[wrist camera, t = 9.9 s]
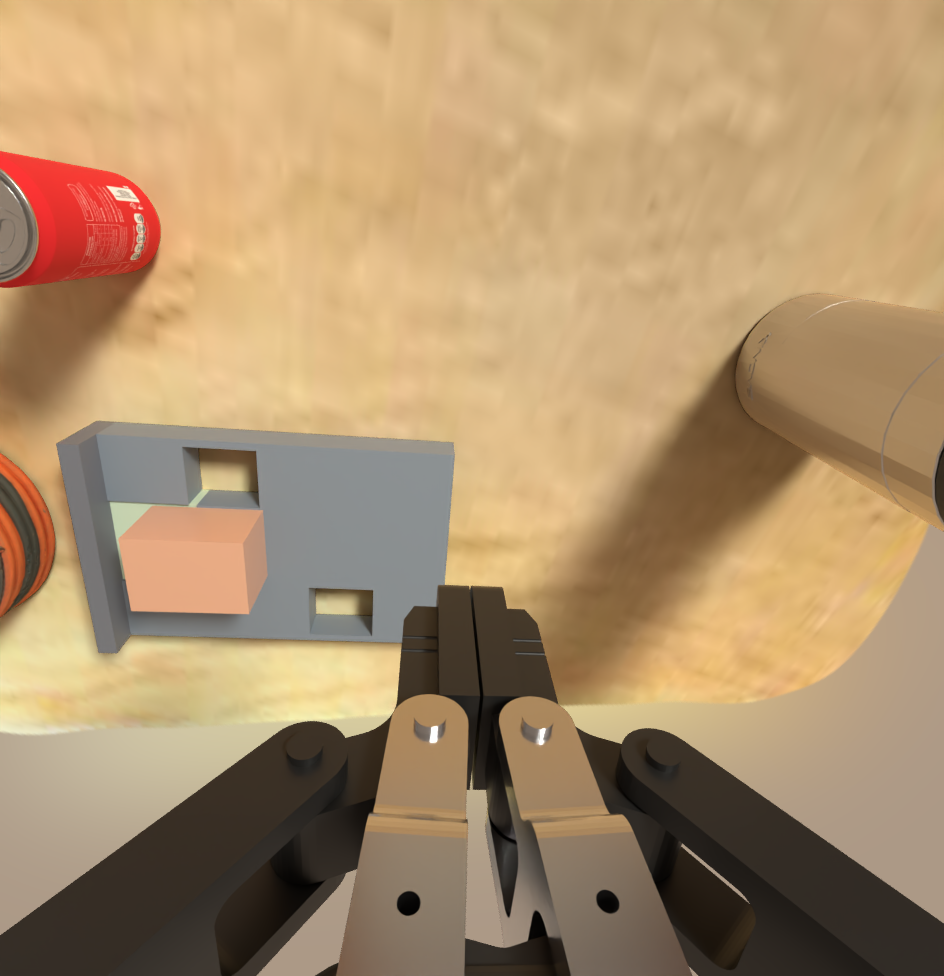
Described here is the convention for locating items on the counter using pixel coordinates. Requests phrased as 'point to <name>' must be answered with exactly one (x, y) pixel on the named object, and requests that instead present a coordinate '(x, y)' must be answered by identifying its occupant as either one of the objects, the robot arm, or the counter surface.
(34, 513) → the beer stein
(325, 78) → the counter surface
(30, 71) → the counter surface
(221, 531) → the terracotta block
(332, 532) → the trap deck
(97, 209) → the beverage can
